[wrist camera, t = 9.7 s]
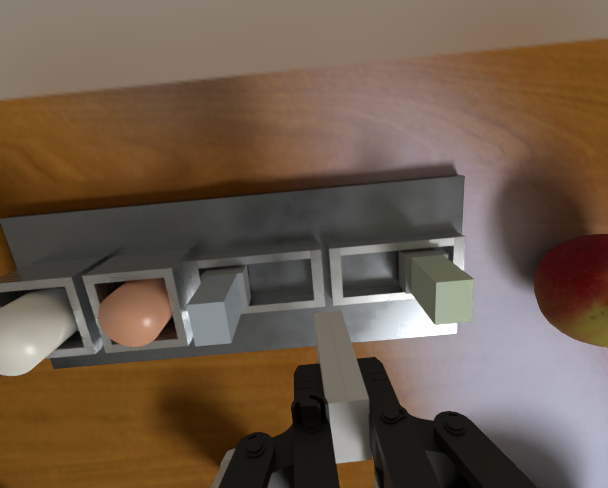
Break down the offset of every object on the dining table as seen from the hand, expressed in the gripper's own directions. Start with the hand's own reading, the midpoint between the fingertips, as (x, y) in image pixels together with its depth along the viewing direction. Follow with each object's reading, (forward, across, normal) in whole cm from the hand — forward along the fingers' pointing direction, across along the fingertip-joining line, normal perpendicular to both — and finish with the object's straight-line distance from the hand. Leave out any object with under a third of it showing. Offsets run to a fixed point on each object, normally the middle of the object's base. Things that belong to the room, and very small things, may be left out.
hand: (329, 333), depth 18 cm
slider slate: (+8, -7, 0) cm, 11 cm away
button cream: (+6, -19, 0) cm, 20 cm away
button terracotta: (+8, -12, 0) cm, 15 cm away
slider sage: (+8, +8, 0) cm, 11 cm away
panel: (+10, -6, 0) cm, 11 cm away
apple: (+9, +20, -2) cm, 22 cm away
